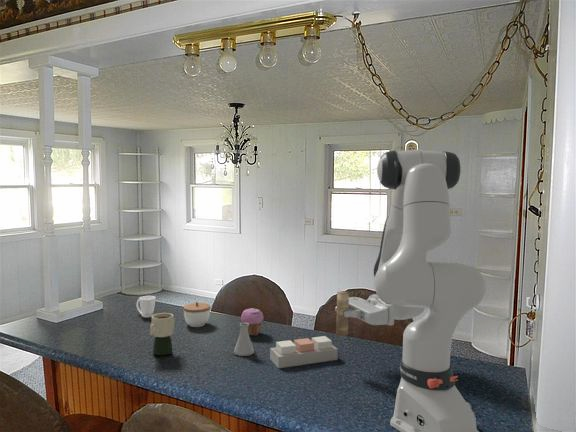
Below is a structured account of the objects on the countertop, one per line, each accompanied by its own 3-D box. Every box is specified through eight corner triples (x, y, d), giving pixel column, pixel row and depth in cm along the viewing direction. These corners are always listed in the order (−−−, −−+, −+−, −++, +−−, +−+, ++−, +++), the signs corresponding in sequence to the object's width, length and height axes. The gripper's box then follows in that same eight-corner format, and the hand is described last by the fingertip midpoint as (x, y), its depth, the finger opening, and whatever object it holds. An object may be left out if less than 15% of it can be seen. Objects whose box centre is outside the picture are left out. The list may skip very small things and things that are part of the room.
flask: (251, 357, 143) (251, 328, 143) (230, 355, 145) (230, 326, 144) (257, 349, 150) (257, 321, 150) (237, 348, 152) (237, 320, 151)
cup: (146, 319, 182) (146, 300, 182) (130, 315, 187) (130, 297, 187) (159, 315, 188) (159, 297, 188) (143, 311, 193) (143, 293, 193)
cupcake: (262, 338, 162) (262, 312, 161) (239, 337, 162) (239, 311, 161) (264, 330, 171) (264, 305, 170) (242, 330, 171) (242, 305, 170)
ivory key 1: (295, 354, 139) (296, 345, 138) (281, 355, 137) (281, 347, 137) (290, 348, 143) (290, 340, 143) (275, 350, 141) (276, 342, 141)
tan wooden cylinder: (350, 335, 133) (351, 293, 133) (339, 336, 132) (340, 294, 131) (344, 331, 137) (345, 290, 136) (334, 332, 135) (335, 291, 135)
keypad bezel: (337, 359, 143) (337, 349, 142) (278, 368, 135) (278, 357, 135) (326, 351, 150) (326, 340, 150) (269, 358, 142) (270, 348, 142)
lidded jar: (177, 325, 175) (177, 302, 174) (197, 319, 184) (197, 297, 183) (196, 330, 169) (196, 307, 168) (215, 324, 178) (215, 301, 177)
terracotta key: (314, 351, 141) (314, 343, 141) (299, 353, 139) (300, 344, 139) (307, 346, 146) (307, 338, 145) (294, 348, 144) (294, 339, 144)
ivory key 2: (331, 349, 143) (331, 340, 143) (317, 351, 141) (318, 342, 141) (324, 344, 148) (325, 335, 148) (311, 345, 146) (311, 337, 146)
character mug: (166, 346, 152) (166, 310, 151) (182, 350, 148) (182, 313, 148) (142, 357, 142) (142, 318, 141) (158, 361, 139) (158, 321, 138)
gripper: (361, 291, 148) (325, 294, 143) (397, 306, 129) (357, 310, 124) (361, 309, 149) (324, 313, 143) (396, 327, 130) (356, 331, 124)
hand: (340, 311), depth 134 cm, fingers closed on tan wooden cylinder, 4 cm apart
